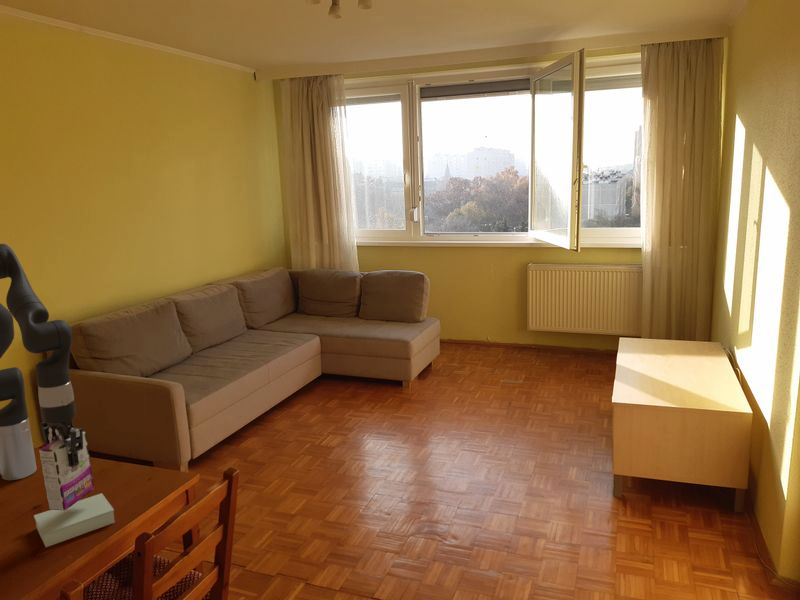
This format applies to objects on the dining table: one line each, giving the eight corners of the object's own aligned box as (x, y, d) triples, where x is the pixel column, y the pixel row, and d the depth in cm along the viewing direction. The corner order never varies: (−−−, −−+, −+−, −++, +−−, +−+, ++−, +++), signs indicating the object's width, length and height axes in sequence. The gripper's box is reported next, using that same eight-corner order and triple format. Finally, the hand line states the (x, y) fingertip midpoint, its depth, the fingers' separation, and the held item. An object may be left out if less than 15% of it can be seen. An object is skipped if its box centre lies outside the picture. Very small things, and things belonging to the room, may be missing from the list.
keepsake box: (45, 549, 150) (42, 534, 149) (36, 529, 159) (33, 515, 158) (116, 523, 160) (114, 509, 160) (103, 506, 169) (101, 493, 168)
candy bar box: (78, 487, 164) (70, 430, 161) (95, 489, 163) (87, 431, 160) (47, 510, 153) (37, 448, 150) (64, 511, 152) (55, 450, 149)
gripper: (24, 401, 153) (35, 463, 156) (60, 410, 146) (69, 475, 149) (54, 391, 159) (63, 451, 163) (89, 400, 152) (97, 462, 156)
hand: (66, 462), depth 156 cm, fingers closed on candy bar box, 6 cm apart
